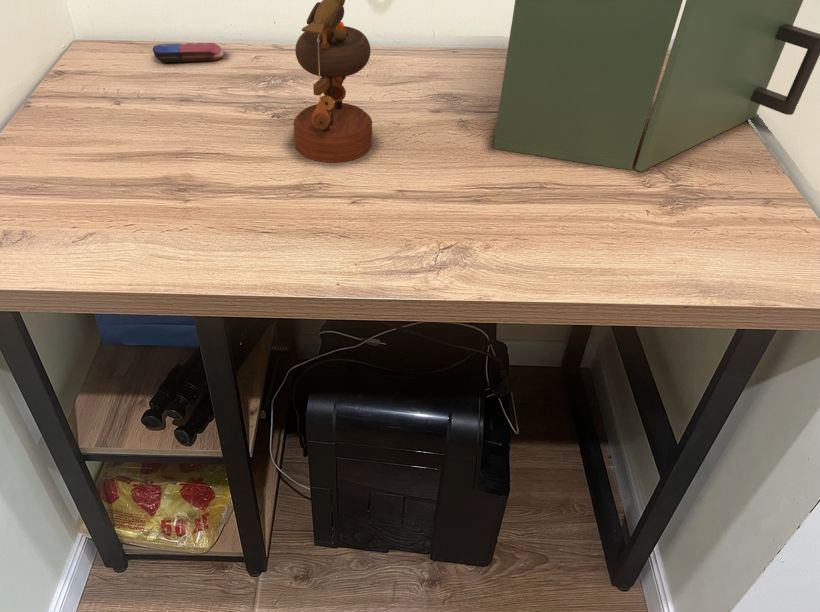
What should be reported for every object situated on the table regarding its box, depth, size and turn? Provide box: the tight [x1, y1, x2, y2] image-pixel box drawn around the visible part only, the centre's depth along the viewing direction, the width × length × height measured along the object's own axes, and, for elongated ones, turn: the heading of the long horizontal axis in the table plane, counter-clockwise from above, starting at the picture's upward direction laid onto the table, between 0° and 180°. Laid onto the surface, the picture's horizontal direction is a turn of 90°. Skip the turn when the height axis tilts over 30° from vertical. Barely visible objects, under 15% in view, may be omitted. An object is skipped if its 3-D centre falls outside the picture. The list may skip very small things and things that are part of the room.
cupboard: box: [492, 0, 684, 171], centre depth 95 cm, size 18×26×24 cm
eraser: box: [152, 42, 225, 63], centre depth 117 cm, size 11×4×2 cm, turn 99°
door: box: [634, 0, 820, 173], centre depth 88 cm, size 7×26×24 cm, turn 127°
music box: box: [293, 0, 373, 163], centre depth 91 cm, size 15×11×20 cm
